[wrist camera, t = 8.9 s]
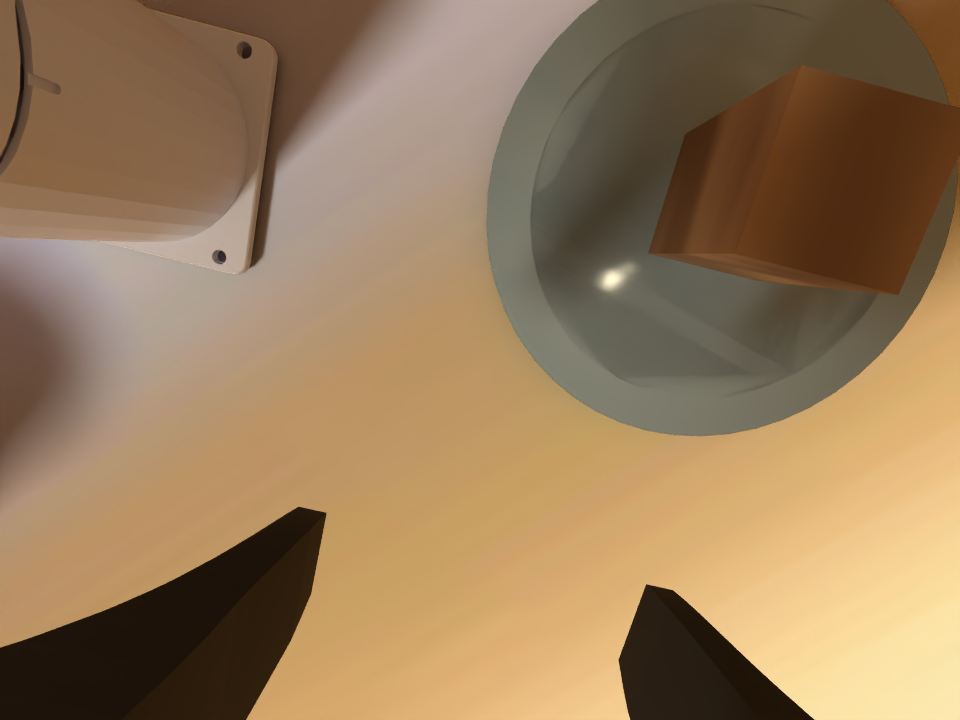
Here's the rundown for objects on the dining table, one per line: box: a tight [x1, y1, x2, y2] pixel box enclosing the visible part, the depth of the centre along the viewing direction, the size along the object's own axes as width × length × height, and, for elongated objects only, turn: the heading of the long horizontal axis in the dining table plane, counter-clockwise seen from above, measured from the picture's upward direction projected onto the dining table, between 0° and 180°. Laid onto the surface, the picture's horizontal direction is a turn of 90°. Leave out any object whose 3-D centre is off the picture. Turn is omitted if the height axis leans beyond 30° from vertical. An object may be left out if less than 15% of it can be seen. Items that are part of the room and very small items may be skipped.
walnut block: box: [648, 65, 960, 295], centre depth 14 cm, size 4×4×6 cm
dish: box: [487, 0, 957, 436], centre depth 17 cm, size 16×16×1 cm
